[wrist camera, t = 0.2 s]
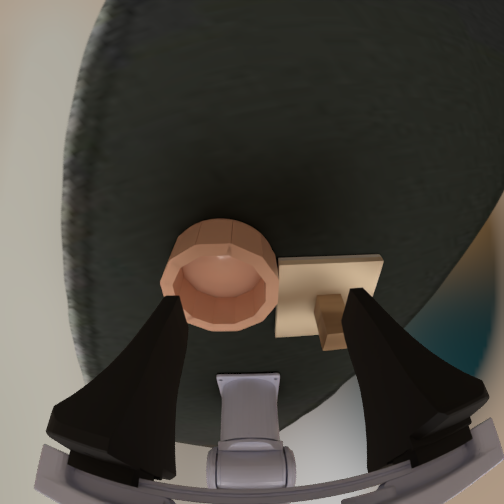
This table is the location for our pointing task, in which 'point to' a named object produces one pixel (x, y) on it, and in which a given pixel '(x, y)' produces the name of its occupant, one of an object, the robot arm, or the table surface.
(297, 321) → the board
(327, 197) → the table surface
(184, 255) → the bowl
